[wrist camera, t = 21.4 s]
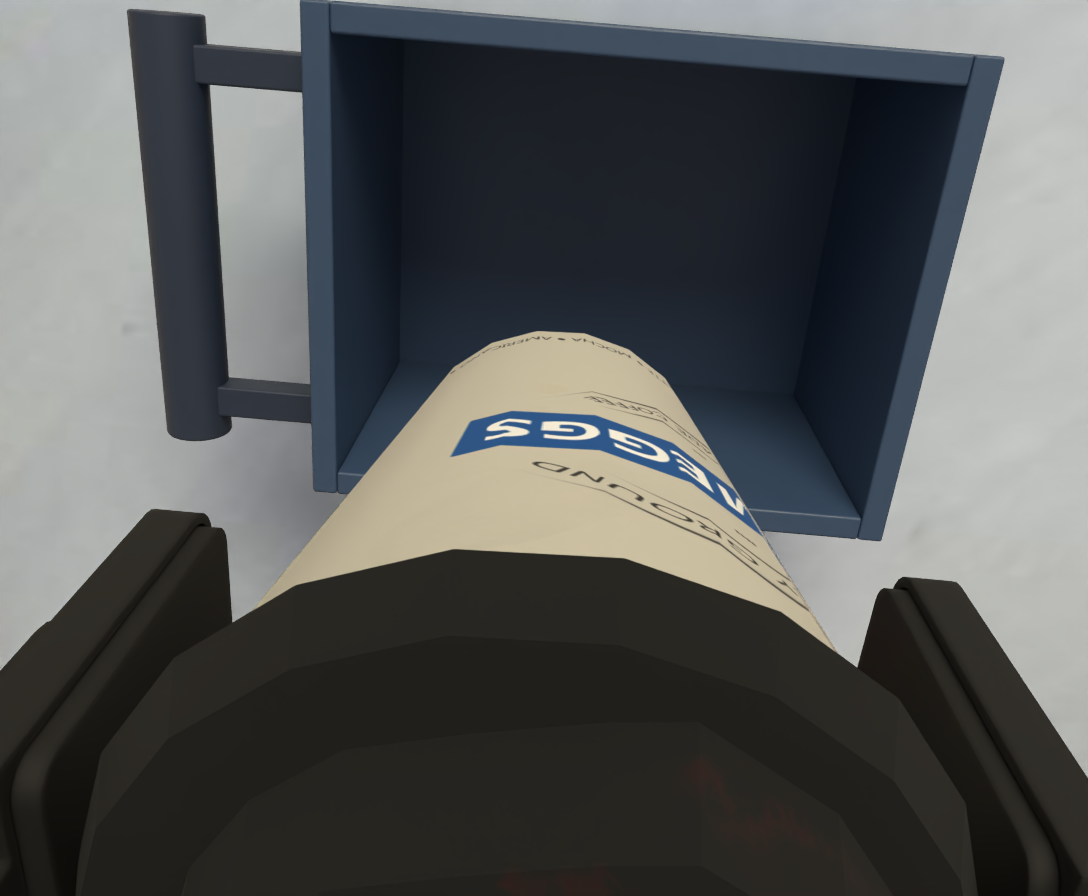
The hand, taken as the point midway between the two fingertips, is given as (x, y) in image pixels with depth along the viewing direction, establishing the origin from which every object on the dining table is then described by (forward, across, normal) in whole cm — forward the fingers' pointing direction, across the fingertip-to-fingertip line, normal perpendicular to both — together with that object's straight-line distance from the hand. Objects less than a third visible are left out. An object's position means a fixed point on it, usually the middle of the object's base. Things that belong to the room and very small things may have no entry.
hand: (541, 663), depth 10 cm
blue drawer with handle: (+21, +1, -1) cm, 21 cm away
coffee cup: (+5, 0, 0) cm, 5 cm away
